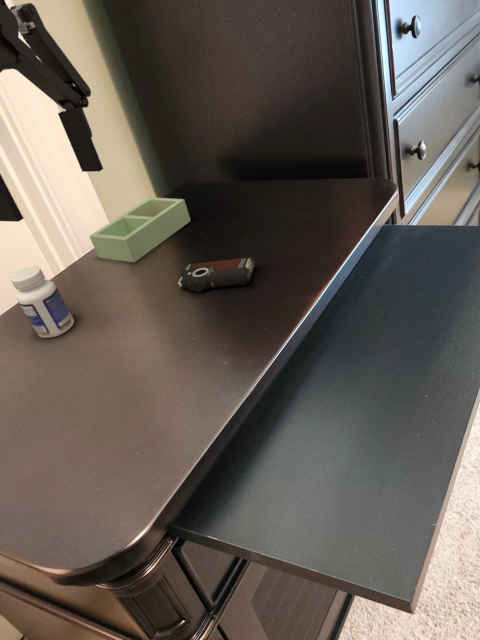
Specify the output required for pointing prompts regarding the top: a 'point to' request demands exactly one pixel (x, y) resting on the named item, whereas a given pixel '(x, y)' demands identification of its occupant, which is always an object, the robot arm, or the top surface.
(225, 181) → the top surface
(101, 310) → the top surface
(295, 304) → the top surface
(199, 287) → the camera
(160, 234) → the divided box
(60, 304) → the pill bottle
